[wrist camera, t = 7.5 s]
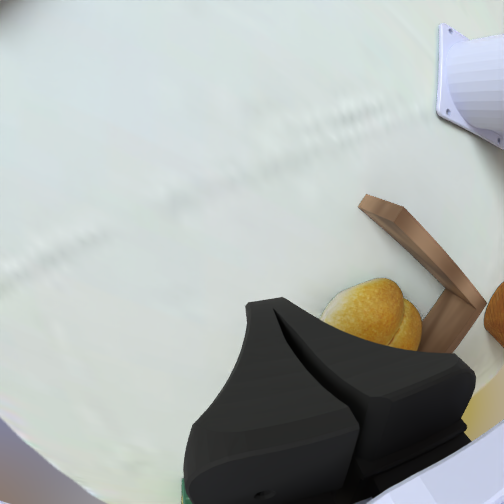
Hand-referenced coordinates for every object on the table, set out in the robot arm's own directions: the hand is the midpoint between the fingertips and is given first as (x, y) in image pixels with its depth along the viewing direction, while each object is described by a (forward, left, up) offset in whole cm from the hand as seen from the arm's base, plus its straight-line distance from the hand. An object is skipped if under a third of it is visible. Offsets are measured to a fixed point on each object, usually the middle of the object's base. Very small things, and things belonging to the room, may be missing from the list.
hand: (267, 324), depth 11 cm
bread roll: (-10, +5, -9) cm, 15 cm away
